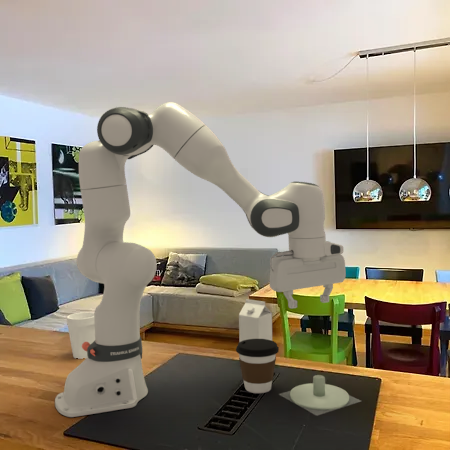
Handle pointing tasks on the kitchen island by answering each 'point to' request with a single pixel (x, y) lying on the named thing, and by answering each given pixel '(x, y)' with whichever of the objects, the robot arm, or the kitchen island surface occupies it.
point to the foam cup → (81, 332)
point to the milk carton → (255, 321)
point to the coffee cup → (257, 363)
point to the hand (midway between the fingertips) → (309, 304)
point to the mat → (319, 412)
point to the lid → (319, 395)
